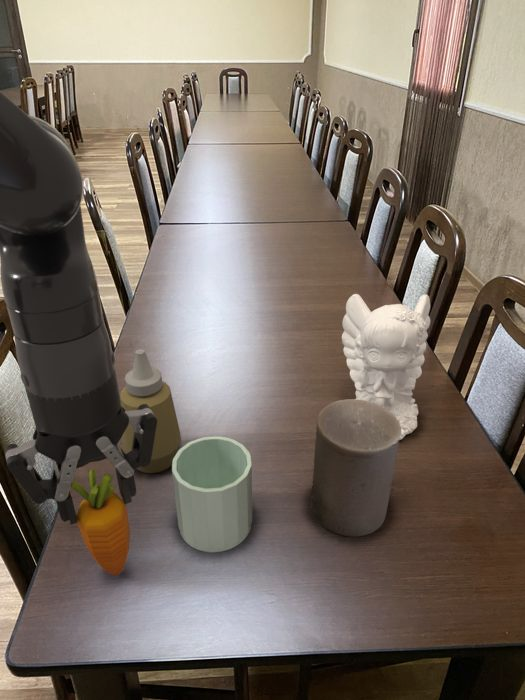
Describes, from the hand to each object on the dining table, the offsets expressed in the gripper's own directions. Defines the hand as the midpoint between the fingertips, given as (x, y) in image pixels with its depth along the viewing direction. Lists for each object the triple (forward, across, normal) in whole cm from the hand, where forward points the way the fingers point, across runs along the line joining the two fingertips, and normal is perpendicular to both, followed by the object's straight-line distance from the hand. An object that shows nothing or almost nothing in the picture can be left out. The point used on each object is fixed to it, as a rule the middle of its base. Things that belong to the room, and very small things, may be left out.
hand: (99, 507), depth 55 cm
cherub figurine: (+11, -44, -8) cm, 46 cm away
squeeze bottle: (+11, -10, -15) cm, 21 cm away
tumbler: (+10, -13, -1) cm, 17 cm away
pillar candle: (+11, -29, +5) cm, 31 cm away
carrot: (+11, 0, 0) cm, 11 cm away
